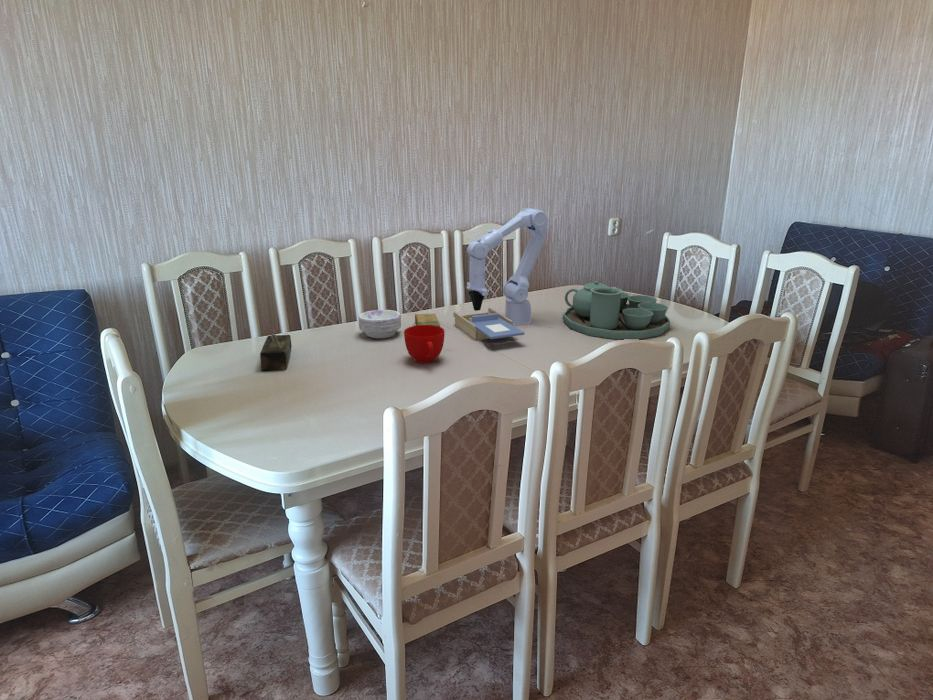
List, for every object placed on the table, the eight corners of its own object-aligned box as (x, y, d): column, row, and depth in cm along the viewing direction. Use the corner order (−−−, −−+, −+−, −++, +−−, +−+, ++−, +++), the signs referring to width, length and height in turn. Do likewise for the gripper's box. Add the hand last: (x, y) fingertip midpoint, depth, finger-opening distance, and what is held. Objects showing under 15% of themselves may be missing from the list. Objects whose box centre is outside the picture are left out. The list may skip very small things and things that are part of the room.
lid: (498, 319, 224) (499, 312, 223) (524, 334, 206) (524, 326, 205) (467, 323, 219) (467, 315, 218) (490, 339, 202) (490, 331, 201)
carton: (436, 323, 234) (435, 312, 233) (440, 336, 220) (440, 325, 218) (414, 324, 233) (414, 313, 232) (418, 337, 218) (418, 325, 217)
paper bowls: (379, 326, 230) (378, 306, 227) (409, 333, 222) (409, 312, 219) (350, 336, 218) (349, 315, 215) (382, 344, 210) (381, 322, 207)
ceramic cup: (411, 373, 184) (410, 342, 181) (401, 355, 199) (400, 326, 196) (452, 369, 187) (451, 338, 184) (439, 351, 203) (439, 323, 199)
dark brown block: (293, 350, 204) (291, 332, 202) (287, 371, 186) (285, 351, 184) (268, 352, 203) (266, 333, 200) (261, 372, 185) (258, 352, 183)
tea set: (683, 340, 214) (689, 296, 209) (571, 340, 214) (574, 295, 209) (651, 310, 252) (655, 271, 246) (556, 310, 252) (558, 271, 246)
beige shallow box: (489, 322, 235) (489, 307, 233) (512, 336, 218) (513, 321, 216) (453, 326, 229) (453, 311, 227) (474, 342, 212) (474, 326, 210)
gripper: (459, 271, 226) (459, 306, 230) (475, 279, 213) (475, 316, 218) (476, 270, 228) (476, 304, 233) (493, 277, 216) (492, 314, 220)
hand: (477, 310), depth 225 cm, fingers closed
